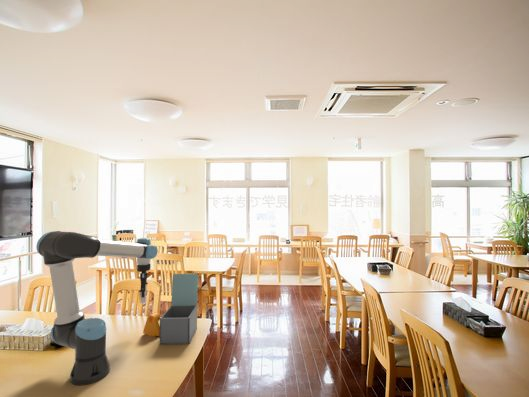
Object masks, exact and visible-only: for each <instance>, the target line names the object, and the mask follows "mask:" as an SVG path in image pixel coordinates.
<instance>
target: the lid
mask: <svg viewBox="0 0 529 397" xmlns="http://www.w3.org/2000/svg"><path fill="white" fill-rule="evenodd" d="M171 282H172V285H171V303H170V304H171V305H170V306H191V305H197V306H198V294H199V292H198V290H199V273H173V274H172V281H171Z"/></svg>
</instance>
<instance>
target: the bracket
mask: <svg viewBox="0 0 529 397" xmlns="http://www.w3.org/2000/svg"><path fill="white" fill-rule="evenodd" d="M160 318H161V315H160V314H159V312H153V313H150V314H149V315H148V316H147V318H146V321H145V325H144V327H143V332H142V333H143V334H145V335H146V336H148V337H155V338H156V337H160Z"/></svg>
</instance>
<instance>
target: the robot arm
mask: <svg viewBox="0 0 529 397" xmlns="http://www.w3.org/2000/svg"><path fill="white" fill-rule="evenodd" d="M136 240H137V241H136V242H125V241H119V240H118V241H117V240H109V239H100V238H99V237H98V236H95V235H94V236H93V235H88V234H84V233H80V232H75V231H62V230H61V231H60V230H54V231H48V232H45V233H44V234H42V236H41V237H40V238H39V239H37V242H36V248H35V249H36V251H37V253H38V254H39V255H40V256H42V257H43V264H44V266H47V267H48V268H49V274H50V279H51V284H52V292H53V298H54V304H55V309H56V310H55V312H56V316H57V317H56V318H55V319H54V321H53V326H52V327H51V330H50V338H51V340H52V341H53V343H56V344H57V345H59V346H62V347H66V348H69V349H73V350H74V352H75V353H74V354H75V355H74V356H75V358H74V360H75V361H74V363H73V366H72V369H71V371H70V376H69V382H70V384H71V385H74V386H86V385H89V384H93V383H96V382H98V381H100V380H102V379H104V378H105V377H106V376H108V374H109V373H110V370H111V368H110V366H111V364H110V361H109V359H108V357H107V353H106V352H107V351H106V350H107V349H106V348H107V347H106V346H107V344H106V343H107V325H106V322H105V320H104V319H102V318H98V317H89V318H85V312H84V311H83V310H80V305H79V298H78V290H77V285H76V277H75V272H74V264H73V262H74V261H75V259H84V258H88V259H89V258H90V259H93V258H96V257H97V256H98V257H112V258H113V257H114V258H115V257H116V258H117V257H118V258H123V259H125V258H135V259H136V264H137V265H136V271H137V272H140V273H139V277H140V279H139V280H140V290H139V293H140V304H142V303H143V304H144V303H146V298H147V297H146V296H147V292H148V291H147V285H148V284H149V282H148V281H147V280H148V271H150V270H151V267H152V266H151V260H152V259H155V258H156V257H157V255H158V246H156V245H154V244H151V243H152V242H151V239H150V238H149V237H140V238H137V239H136Z"/></svg>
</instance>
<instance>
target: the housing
mask: <svg viewBox="0 0 529 397" xmlns="http://www.w3.org/2000/svg"><path fill="white" fill-rule="evenodd" d="M159 326H160V335H159V345H160V346H161V345H190V343H191V341H192V340H193V337H194V335H195V334H196V331H197V329H198V304H197V305H191V306H171V305H170V306H169V308H168V309H167V310H166V311H165V312H164V314H163V315H162V316H160V320H159Z"/></svg>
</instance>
